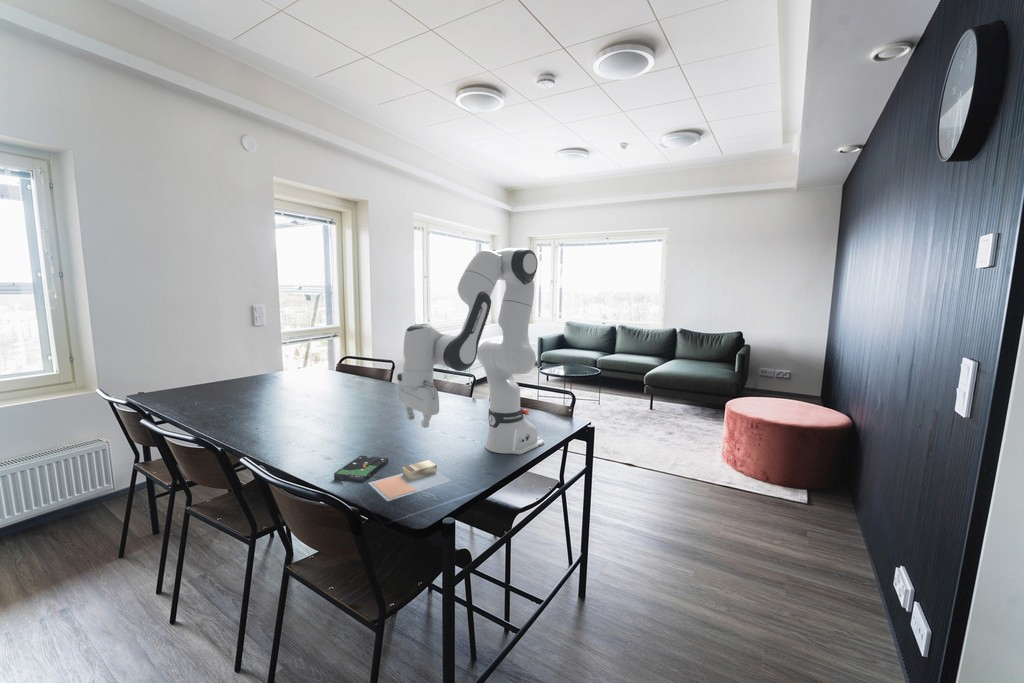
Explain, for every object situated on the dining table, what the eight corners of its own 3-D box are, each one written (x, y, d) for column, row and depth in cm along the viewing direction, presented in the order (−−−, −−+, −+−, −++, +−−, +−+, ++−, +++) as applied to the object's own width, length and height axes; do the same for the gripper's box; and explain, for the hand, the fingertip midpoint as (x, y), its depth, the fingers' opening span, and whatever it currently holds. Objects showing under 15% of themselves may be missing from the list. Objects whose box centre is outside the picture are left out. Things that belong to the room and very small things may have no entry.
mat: (429, 467, 138) (429, 465, 138) (451, 483, 127) (451, 480, 127) (367, 484, 125) (367, 482, 125) (387, 503, 115) (387, 500, 114)
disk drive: (360, 463, 143) (333, 481, 128) (359, 455, 142) (333, 472, 128) (388, 465, 141) (365, 485, 126) (388, 457, 140) (365, 476, 126)
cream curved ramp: (429, 467, 137) (429, 459, 136) (436, 472, 133) (436, 464, 133) (402, 474, 131) (402, 466, 131) (410, 480, 127) (410, 472, 127)
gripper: (445, 383, 123) (444, 430, 124) (412, 372, 138) (412, 414, 140) (425, 385, 119) (424, 433, 120) (394, 373, 134) (394, 416, 136)
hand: (417, 423), depth 130 cm, fingers open, 8 cm apart
